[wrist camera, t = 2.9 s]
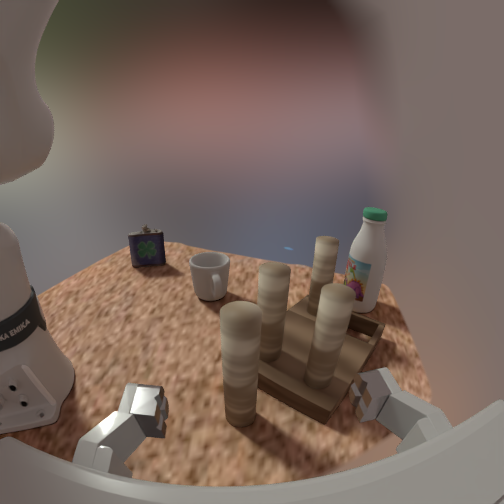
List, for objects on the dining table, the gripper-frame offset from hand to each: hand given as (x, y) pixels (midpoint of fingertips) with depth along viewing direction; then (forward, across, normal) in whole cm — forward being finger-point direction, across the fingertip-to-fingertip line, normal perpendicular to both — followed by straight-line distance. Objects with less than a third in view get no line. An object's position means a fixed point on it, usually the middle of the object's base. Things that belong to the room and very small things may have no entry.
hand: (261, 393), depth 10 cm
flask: (+57, +22, +20) cm, 64 cm away
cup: (+41, +5, +20) cm, 46 cm away
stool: (+23, -12, +20) cm, 33 cm away
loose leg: (+12, 0, +20) cm, 24 cm away
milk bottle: (+36, -25, +21) cm, 49 cm away
